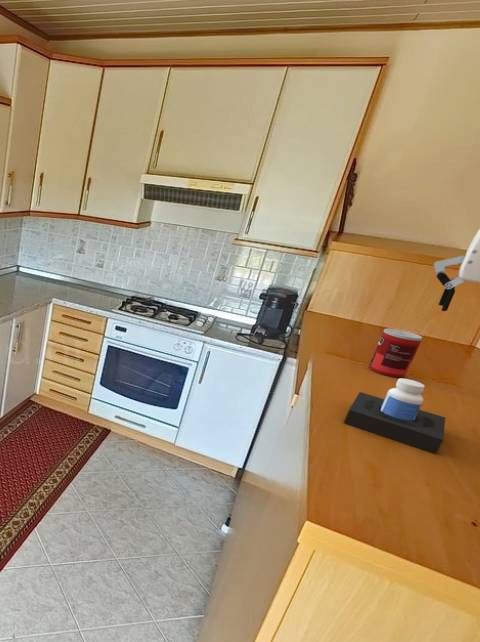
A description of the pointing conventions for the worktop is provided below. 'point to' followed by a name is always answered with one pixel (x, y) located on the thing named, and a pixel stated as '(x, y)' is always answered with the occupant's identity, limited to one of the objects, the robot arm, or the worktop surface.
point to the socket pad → (396, 424)
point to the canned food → (395, 352)
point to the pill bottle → (403, 400)
